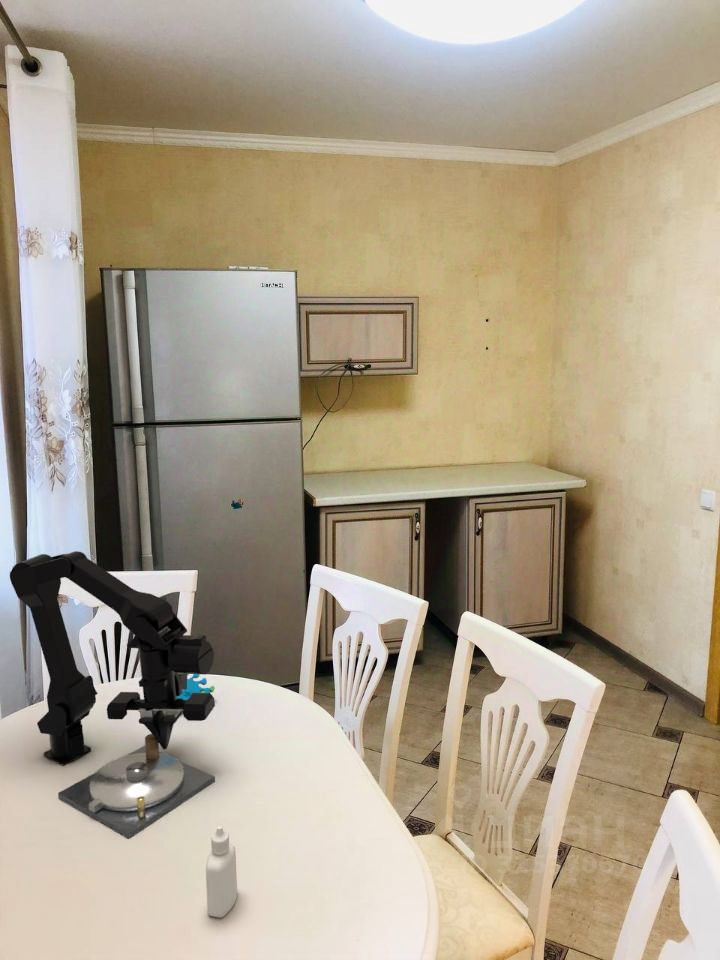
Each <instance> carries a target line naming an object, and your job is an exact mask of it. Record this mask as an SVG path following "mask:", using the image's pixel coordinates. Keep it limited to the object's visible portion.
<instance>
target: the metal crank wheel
mask: <svg viewBox="0 0 720 960" xmlns="http://www.w3.org/2000/svg"><path fill="white" fill-rule="evenodd" d="M144 746H145V747H146V753H137V754H132V755H128V754H127V755H128V756H127V755H125V756H124V755H123V756H122V757H119V758H116V759H114V760H112V761H110V762H108V763H106V764H105V765H103V766H102V767H100V768H99V769H98V770H97V771H95V772H94V773H95V774H94V773H93V774H94V775H93V777H92V779H91V781H90V796H91V799H92V800H93V801H92V802H90V803H89V810H90V811H92V812H94V813H95V812H96V811H98V810H100V809H101V808H105V809H109V810H114V811H133V810H137V798H138V797H141V796H142V797H144V800H145V808H148V807H151V806H154V805H156V804H159V803H161V802H163V801H165V800H166V799H168V798H169V797H171V796H172V795H173V794H175V793H176V792H177V791H178V789H179V788H180V787H181V785H182V783H183V780H184V770H183V766H182V764H181V762H180V761H181V760H180V759H178V760H177V758H176V757H174V756H172V755H170V754H167V753H164V752H162V753H159V751H160V744H159V743H158V741H157V740H156V738H155V737H154V736H153V734H152V733H150V734H148V735H146V736H145V737H144ZM163 753H164V754H163ZM179 760H180V761H179Z"/></svg>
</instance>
